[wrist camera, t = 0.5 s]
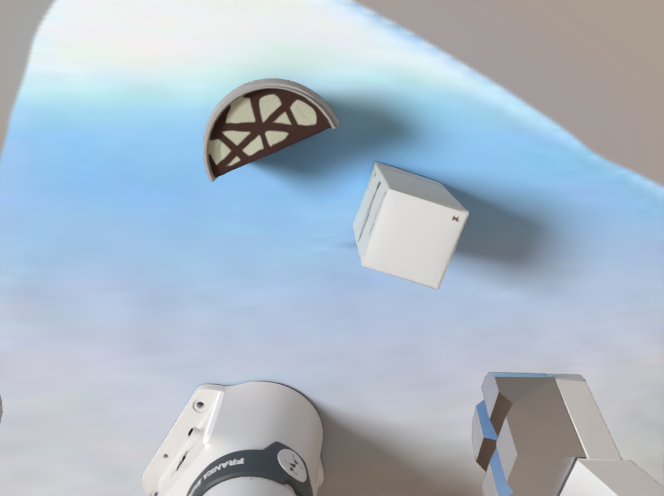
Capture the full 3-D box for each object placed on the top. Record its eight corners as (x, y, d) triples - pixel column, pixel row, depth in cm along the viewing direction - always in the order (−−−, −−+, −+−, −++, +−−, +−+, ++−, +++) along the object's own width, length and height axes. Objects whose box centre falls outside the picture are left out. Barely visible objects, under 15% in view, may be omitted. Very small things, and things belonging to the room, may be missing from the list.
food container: (310, 54, 57) (311, 54, 48) (335, 114, 59) (341, 126, 50) (194, 106, 59) (172, 116, 49) (222, 164, 60) (206, 184, 51)
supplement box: (373, 159, 61) (390, 184, 49) (441, 182, 62) (473, 212, 50) (349, 226, 63) (359, 266, 51) (415, 247, 64) (440, 292, 52)
